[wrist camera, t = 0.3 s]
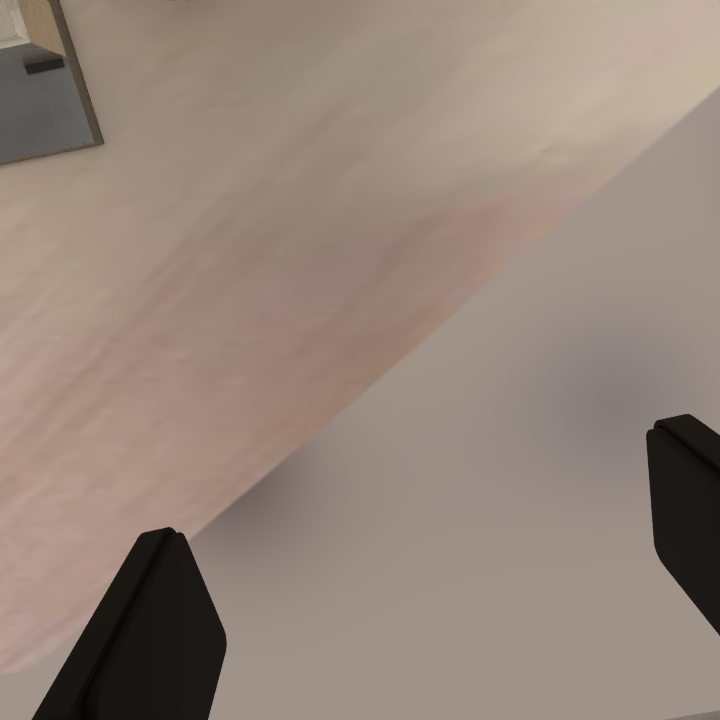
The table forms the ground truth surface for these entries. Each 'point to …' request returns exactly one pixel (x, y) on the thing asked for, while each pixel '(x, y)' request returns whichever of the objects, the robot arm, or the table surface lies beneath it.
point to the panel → (41, 84)
